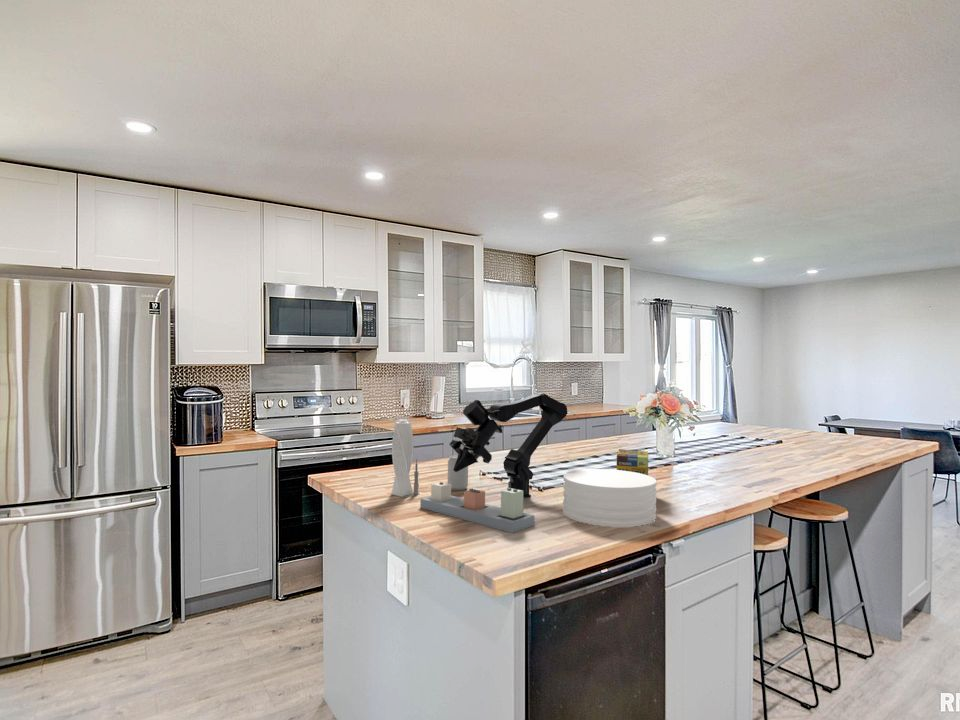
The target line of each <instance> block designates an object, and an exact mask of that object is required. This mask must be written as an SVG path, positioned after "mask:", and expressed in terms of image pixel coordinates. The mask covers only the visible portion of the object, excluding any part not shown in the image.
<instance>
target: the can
mask: <svg viewBox="0 0 960 720" xmlns="http://www.w3.org/2000/svg"><path fill="white" fill-rule="evenodd" d="M457 458H458V454H456V455H450V456H449V458H448V459H447V483H448V484H451V491H464V490H465V491H466V488H468V486H469V466H467V467H465V468H463V469H461V470H459V471H458V472H455V471H454V470H453V469H454V466H455V463H456V461H457Z"/></svg>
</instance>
